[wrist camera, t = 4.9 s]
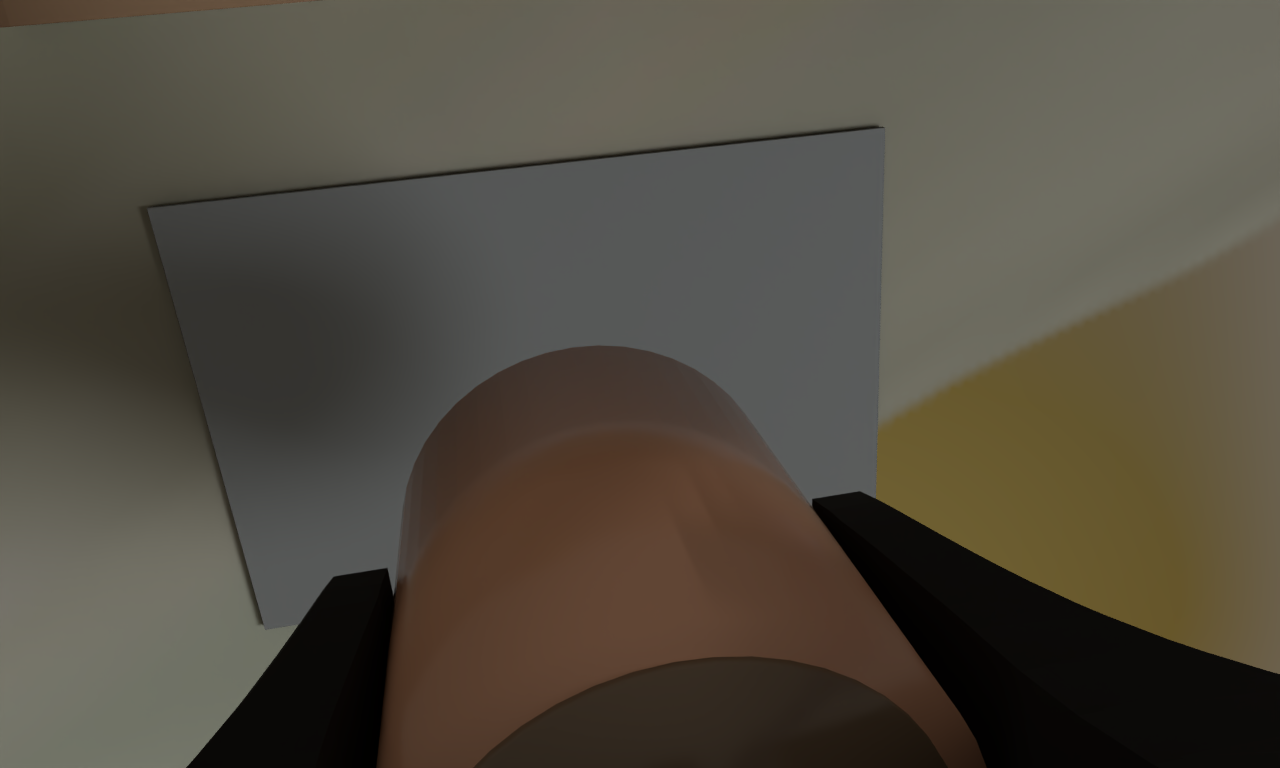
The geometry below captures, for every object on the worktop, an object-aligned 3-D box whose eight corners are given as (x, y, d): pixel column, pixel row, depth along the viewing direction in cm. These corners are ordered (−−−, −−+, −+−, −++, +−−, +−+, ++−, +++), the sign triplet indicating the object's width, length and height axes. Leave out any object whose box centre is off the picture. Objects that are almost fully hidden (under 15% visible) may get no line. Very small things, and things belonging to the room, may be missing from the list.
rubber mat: (882, 127, 17) (885, 127, 17) (872, 526, 20) (874, 528, 20) (148, 206, 15) (146, 208, 15) (265, 626, 18) (265, 629, 18)
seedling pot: (765, 319, 13) (1017, 572, 7) (778, 642, 14) (985, 1046, 9) (368, 376, 12) (293, 702, 6) (436, 706, 14) (423, 1187, 8)
